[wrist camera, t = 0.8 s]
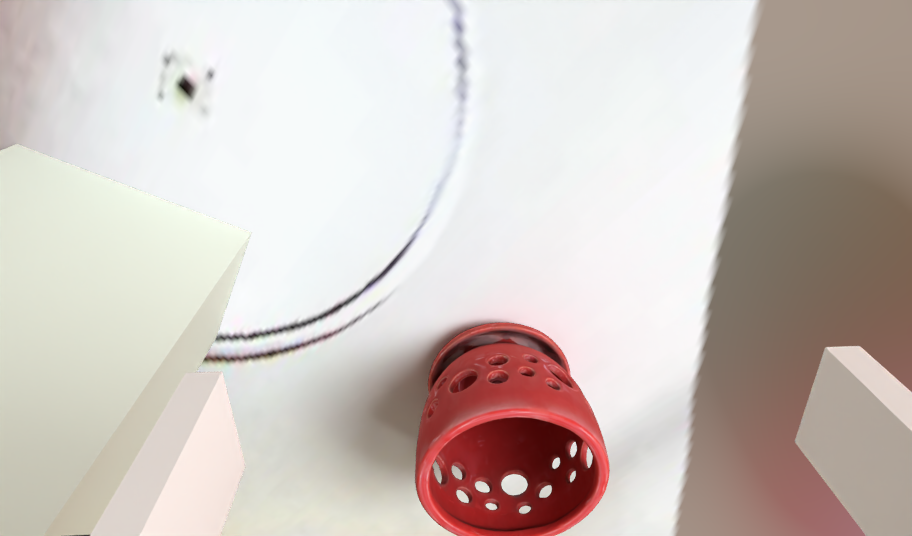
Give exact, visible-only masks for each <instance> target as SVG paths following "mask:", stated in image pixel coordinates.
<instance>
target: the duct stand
mask: <svg viewBox="0 0 912 536" xmlns="http://www.w3.org/2000/svg"><path fill="white" fill-rule="evenodd" d="M251 233H252V232H249V231H247V230H244V229H241V228H239V227H236V226H233V225H231V224H228V223H225V222H223V221H220V220H217V219H215V218H212V217H210V216H207V215H204V214H202V213H199V212H196V211H194V210H191V209H188V208H186V207H183V206H180V205H178V204H175V203H172V202H170V201H167V200H165V199H162V198H159V197H157V196H154V195H151V194H149V193H146V192H143V191H141V190H138V189H135V188H133V187H130V186H127V185H125V184H122V183H119V182H117V181H114V180H112V179H109V178H106V177H104V176H101V175H98V174H96V173H93V172H90V171H88V170H85V169H82V168H80V167H77V166H74V165H72V164H69V163H67V162H64V161H61V160H59V159H56V158H53V157H51V156H48V155H45V154H43V153H40V152H37V151H35V150H32V149H29V148H27V147H24V146H21V145H19V144H15V145H13V146H10V147H8V148H6V149H3V150H1V151H0V536H70V535H91V533H92V531H93V530H94V528H95V526H96V524H97V523H98V521H99V519H100V518H101V516H102V514H103V513H104V511H105V509H106V507H107V506H108V504H109V502H110V501H111V499H112V497H113V496H114V494H115V492H116V491H117V489H118V487H119V485H120V484H121V482H122V480H123V479H124V477H125V475H126V474H127V472H128V470H129V468H130V467H131V465H132V463H133V462H134V460H135V458H136V457H137V455H138V453H139V451H140V450H141V448H142V446H143V445H144V443H145V441H146V440H147V438H148V436H149V434H150V433H151V431H152V429H153V428H154V426H155V424H156V423H157V421H158V419H159V418H160V416H161V414H162V412H163V411H164V409H165V407H166V406H167V404H168V402H169V401H170V399H171V397H172V395H173V394H174V392H175V390H176V389H177V387H178V385H179V384H180V382H181V380H182V378H183V377H184V375H185V373H192V372H197V370H198V368H199V367H200V365H201V363H202V362H203V360H204V358H205V356H206V355H207V353H208V351H209V350H210V348H211V346H212V344H213V343H214V341H215V339H216V337H217V334H218V331H219V328H220V325H221V322H222V319H223V316H224V313H225V310H226V307H227V304H228V301H229V298H230V295H231V292H232V289H233V286H234V283H235V280H236V277H237V274H238V271H239V268H240V265H241V262H242V259H243V257H244V254H245V251H246V248H247V245H248V242H249V239H250V236H251Z"/></svg>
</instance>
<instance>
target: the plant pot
mask: <svg viewBox="0 0 912 536" xmlns="http://www.w3.org/2000/svg"><path fill="white" fill-rule="evenodd" d="M428 391H429V396H428V398H427V401H426V403H425V406H424V410H423V413H422V417H421V422H420V428H419V436H418V441H417V450H416V469H415V483H416V490H417V494H418V497H419V500H420V502H421V504H422V506H423V508H424V509H425V510H426V512H427V513H428V514H429V515H430V517H431V518H432V519H433V520H434V521H436V522H437V523H438V524H439V525H440V526H442V527H443V528H445V529H446V530H448V531H450V532H452V533H453V534H455V535H458V536H555V535H557V534H560V533H562V532H564V531H566V530H567V529H569V528H571V527H572V526H574V525H576V524H577V523H579V522H580V521H581V520H582V519H584V518H585V517H586V516H587V515H588V514H589V513H590V512H591V511H592V510H593V509H594V508H595V506H596V505H597V504H598V503H599V501H600V500H601V498H602V496H603V494H604V492H605V490H606V487H607V483H608V479H609V471H610V470H609V460H608V455H607V451H606V448H605V444H604V440H603V437H602V434H601V431H600V428H599V425H598V423H597V420H596V418H595V416H594V413H593V411H592V409H591V407H590V405H589V403H588V401H587V400H586V398H585V397H584V395H583V393H582V391H581V389H580V388H579V386H578V385H577V384H576V382H575V381H574V380H573V379H572V377H571V376H570V369H569V365H568V362H567V359H566V357H565V355H564V354H563V352H562V350H561V349H560V348H559V347H558V345H557V344H556V343H555V342H554V341H553V340H552V339H550V338H549V337H548V336H547V335H545V334H544V333H542V332H540V331H538V330H536V329H534V328H531V327H528V326H524V325H520V324H514V323H490V324H484V325H480V326H477V327H474V328H471V329H469V330H467V331H464V332H463V333H461V334H459V335H457V336H456V337H455V338H453V339H452V340H451V341H449V342H448V343H447V344H446V345H445V346H444V347H443V348H442V350H441V351H440V352H439V354H438V355H437V357H436V359H435V360H434V362H433V365H432V367H431V370H430V374H429V379H428ZM574 442H576V445H577V452H576V455H575V456H574V457H573V458H572V457H571V455H570V449H571V445H572V444H573V443H574ZM588 447H589V449H590V450H591V453H592V455H593V460H592V464H591V467H590V468H588V466H587V461H586V456H587V448H588ZM557 457H559V458H560V465H559V467H558V468H556V469H553V468H552V463H553V461H554V459H555V458H557ZM435 460H436V462H437V463H438V465H439V468H440V470H441V474H442V481H441V484H440V483H439V482H438V481H437V479H436V477H435V474H434V469H433V467H432V465H433V463H434V461H435ZM453 465H454V466H456V467H458V468H459V469H460V471H461V472H462V480H459V479H457V478H455V476H454V475H453V473H452V470H451V468H452V466H453ZM573 471H576V477H575V479H574V481H572V482H571V483H570V475H571V474H572V472H573ZM511 474H518V475H521V476H523V477H524V478H525V479H526V480H527V483H528V486H527V489H526V491H525V492H523V493H522V494H519V495H514V496H513V495H508V494H507V493H505V492H504V491H503V489H502V487H501V482H502V480H503V479H504V477H506V476H508V475H511ZM477 481H482V482H485V483H486V484H487V485H488V486H489V488H490V491H489V492H488V493H483V492H479V491H478V490H477V489H476V488H475V482H477ZM547 485H551V486H552V492H551V494H550V495H549V496H548V497H547V498H540V497H539V493H540V491H541V489H542V488H544V487H545V486H547ZM457 490H461V491H463V492H464V493H465V494H466V495H467V496H468V498H469V503H464V502H461V501H460V500H459V499H458V497H457V495H456V491H457ZM487 503H493V504H495V505H496V506H497V509H496V510H489V509H488V508H486V506H485V505H486V504H487ZM525 505H526V506H530V507H531V510H530V511H529V512H528V513H526V514H521V513H519V509H520V508H521V507H522V506H525Z"/></svg>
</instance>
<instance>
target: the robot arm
mask: <svg viewBox="0 0 912 536" xmlns="http://www.w3.org/2000/svg"><path fill="white" fill-rule="evenodd" d="M795 443H796V444H797V445H798V447H799V448H800V449H801V451H802V452H803V453H804V455H805V456H806V457H807V458H808V460H809V461H810V462H811V464H812V465H813V466H814V468H815V469H816V470H817V472H818V473H819V474H820V476H821V477H822V478H823V480H824V481H825V482H826V484H827V485H828V486H829V487H830V489H831V490H832V491H833V493H834V494H835V495H836V497H837V498H838V499H839V501H840V502H841V503H842V504H843V506H844V507H845V508H846V510H847V511H848V512H849V513H850V515H851V516H852V518H853V519H854V520H855V521H856V523H857V524H858V525H859V527H860V528H861V529H862V531H863V532H864V533H865V535H866V536H912V392H911V391H909V390H908V389H907V388H906V387H905V386H904V385H903V384H902V383H900V382H899V381H898V380H897V379H896V378H895V377H894V376H893V375H891V374H890V373H889V372H888V371H887V370H886V369H885V368H883V366H881V365H880V364H879V363H878V362H877V361H876V360H875V359H873V358H872V357H871V356H870V355H869V354H868V353H867V352H866V351H865V350H863V349H862V348H861V347H860V346H846V347H826V348H825V350H824V353H823V356H822V359H821V363H820V365H819V368H818V371H817V375H816V378H815V381H814V384H813V387H812V390H811V393H810V396H809V399H808V402H807V405H806V408H805V411H804V414H803V418H802V421H801V424H800V427H799V430H798V433H797V436H796V439H795ZM245 466H246V465H245V461H244V457H243V453H242V449H241V445H240V441H239V437H238V433H237V429H236V425H235V421H234V417H233V413H232V409H231V405H230V401H229V397H228V393H227V389H226V385H225V381H224V377H223V373H222V371H217V372H192V373H185V375H184V377H183V378H182V380H181V382H180V384H179V385H178V387H177V389H176V390H175V392H174V394H173V395H172V397H171V399H170V401H169V402H168V404H167V406H166V407H165V409H164V411H163V412H162V414H161V416H160V418H159V419H158V421H157V423H156V424H155V426H154V428H153V429H152V431H151V433H150V434H149V436H148V438H147V440H146V441H145V443H144V445H143V446H142V448H141V450H140V451H139V453H138V455H137V457H136V458H135V460H134V462H133V463H132V465H131V467H130V468H129V470H128V472H127V474H126V475H125V477H124V479H123V480H122V482H121V484H120V485H119V487H118V489H117V491H116V492H115V494H114V496H113V497H112V499H111V501H110V502H109V504H108V506H107V507H106V509H105V511H104V513H103V514H102V516H101V518H100V519H99V521H98V523H97V524H96V526H95V528H94V530H93V531H92V533H91V535H70V536H221V533H222V530H223V527H224V524H225V522H226V519H227V516H228V513H229V511H230V508H231V505H232V502H233V500H234V497H235V494H236V491H237V489H238V486H239V483H240V480H241V477H242V475H243V472H244V469H245Z"/></svg>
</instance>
